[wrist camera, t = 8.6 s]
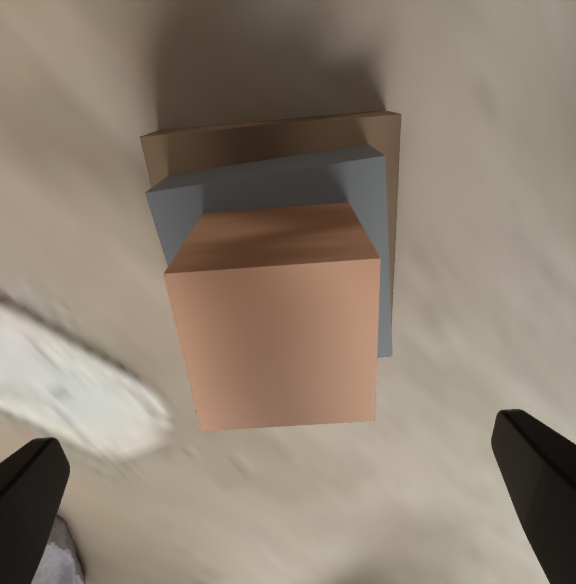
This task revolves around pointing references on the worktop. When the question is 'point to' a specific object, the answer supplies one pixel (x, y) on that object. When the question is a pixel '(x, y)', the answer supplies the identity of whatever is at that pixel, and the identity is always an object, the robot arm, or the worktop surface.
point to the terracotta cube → (278, 316)
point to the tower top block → (284, 201)
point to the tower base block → (279, 149)
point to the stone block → (59, 559)
